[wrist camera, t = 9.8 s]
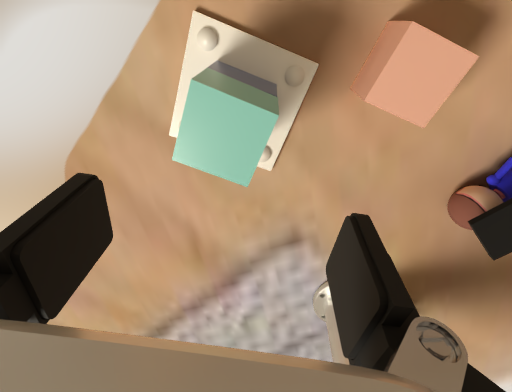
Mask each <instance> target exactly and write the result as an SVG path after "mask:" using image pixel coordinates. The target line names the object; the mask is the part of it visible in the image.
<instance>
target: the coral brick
mask: <svg viewBox="0 0 512 392" xmlns="http://www.w3.org/2000/svg"><path fill="white" fill-rule="evenodd" d="M478 58H479V56H478V55H476V54H474V53H472V52H470V51H468V50H466V49H464V48H462V47H461V46H459V45H457V44H455V43H453V42H451V41H449V40H447V39H446V38H444V37H442V36H440V35H438V34H436V33H434V32H432V31H431V30H429V29H427V28H425V27H423V26H421V25H419V24H417V23H416V22H414V21H388V22H387V24H386V26H385V28H384V29H383V31H382V33H381V35H380V36H379V38H378V40H377V42H376V44H375V45H374V47H373V49H372V51H371V52H370V54H369V56H368V58H367V59H366V61H365V63H364V65H363V66H362V68H361V70H360V72H359V73H358V75H357V77H356V79H355V81H354V82H353V84H352V86H351V88H350V89H351V90H352V91H353V92H354V93H356V94H357V95H358V96H359V97H360V98H361V99H362V100H363V101H365V102H367V103H369V104H372V105H374V106H376V107H378V108H380V109H382V110H385V111H387V112H389V113H391V114H393V115H396V116H398V117H400V118H402V119H404V120H406V121H409V122H411V123H413V124H415V125H417V126H420V127H422V128H424V127H425V126H426V125H427V123H428V122H429V121H430V119H431V118H432V117H433V116H434V114H435V113H436V112H437V110H438V109H439V108H440V107H441V105H442V104H443V103H444V101H445V100H446V99H447V98H448V96H449V95H450V94H451V92H452V91H453V90H454V89H455V87H456V86H457V85H458V83H459V82H460V81H461V80H462V78H463V77H464V76H465V74H466V73H467V72H468V71H469V69H470V68H471V67H472V65H473V64H474V63H475V62H476V60H477V59H478Z"/></svg>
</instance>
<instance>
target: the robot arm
mask: <svg viewBox="0 0 512 392" xmlns="http://www.w3.org/2000/svg"><path fill="white" fill-rule="evenodd" d="M112 238H113V231H112V226H111V221H110V216H109V211H108V206H107V202H106V197H105V192H104V187H103V183H102V181H101V180H99V179H98V177H97V176H96V175H91V174H84V173H77V174H76V175H74V176H73V177H72V178H70V179H69V180H68V181H66V182H65V183H64V184H63V185H61V186H60V187H59V188H57V189H56V190H55V191H53V192H52V193H51V194H50V195H48V196H47V197H46V198H44V199H43V200H42V201H40V202H39V203H38V204H37V205H35V206H34V207H33V208H31V209H30V210H29V211H27V212H26V213H25V214H24V215H22V216H21V217H20V218H18V219H17V220H16V221H14V222H13V223H12V224H11V225H9V226H8V227H7V228H5V229H4V230H3V231H1V232H0V392H505V391H504V390H503V389H501V388H500V387H499V386H498V385H496V384H495V383H494V382H492V381H491V380H490V379H488V378H487V377H486V376H484V375H483V374H482V373H480V372H479V371H478V370H476V369H475V368H474V367H472V366H471V365H470V364H468V354H467V351H466V348H465V346H464V344H463V343H462V341H461V340H460V338H459V337H458V336H457V335H456V334H455V333H454V332H453V331H452V330H451V329H450V328H448V327H447V326H446V325H444V324H443V323H441V322H439V321H437V320H435V319H432V318H429V317H420V316H419V314H418V312H417V310H416V308H415V306H414V304H413V302H412V300H411V298H410V296H409V294H408V292H407V290H406V288H405V286H404V284H403V282H402V280H401V278H400V276H399V274H398V272H397V270H396V268H395V265H394V263H393V261H392V259H391V257H390V256H389V254H388V253H387V251H386V249H385V247H384V245H383V243H382V241H381V239H380V237H379V235H378V233H377V231H376V229H375V227H374V225H373V223H372V221H371V219H370V217H369V216H368V215H364V214H357V213H352V214H351V216H347V217H346V218H345V220H344V222H343V225H342V227H341V230H340V232H339V235H338V237H337V240H336V242H335V245H334V247H333V250H332V252H331V254H330V257H329V259H328V262H327V265H326V275H327V280H328V281H327V282H325V283H324V284H323V285H322V286H320V287H319V289H318V290H317V291H316V293H315V294H314V297H313V306H314V311H315V313H316V314H317V316H318V317H319V318H320V319H322V320H323V321H325V322H326V325H327V330H328V336H329V342H330V348H331V353H332V359H333V362H327V361H321V360H314V359H308V358H301V357H294V356H286V355H279V354H271V353H264V352H257V351H249V350H242V349H235V348H227V347H220V346H212V345H205V344H197V343H189V342H182V341H174V340H167V339H159V338H151V337H143V336H136V335H128V334H120V333H112V332H104V331H96V330H88V329H80V328H72V327H64V326H56V325H48V324H47V322H48V321H49V320H50V319H53V318H55V317H56V316H57V315H58V313H59V312H60V311H61V309H62V308H63V307H64V305H65V304H66V303H67V301H68V300H69V298H70V297H71V296H72V294H73V293H74V292H75V290H76V289H77V288H78V286H79V285H80V284H81V282H82V281H83V280H84V278H85V277H86V276H87V274H88V273H89V271H90V270H91V269H92V267H93V266H94V265H95V263H96V262H97V261H98V259H99V258H100V257H101V255H102V254H103V253H104V251H105V250H106V248H107V247H108V246H109V244H110V243H111V241H112Z"/></svg>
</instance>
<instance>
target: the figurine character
mask: <svg viewBox="0 0 512 392" xmlns="http://www.w3.org/2000/svg"><path fill="white" fill-rule="evenodd" d="M486 181H487V183H488V185H489V187H490V189H489V188H486V187H483V186H467V187H464V188H461V189H459V190H458V191H456V192H455V193H454V194H453V195H452V196H451V197H450V199H449V202H448V212H449V215H450V217H451V218H452V220H453V221H454V222H455V223H456V224H458V225H459V226H461V227H463V228H466V229H469V230H473V231H474V233H475V234H476V236H477V237H478V239H479V240H480V242H481V244H482V245H483V247H484V248H485V250H486V251H487V253H488V255H489V256H490V257H491V258H492V259H493V260H496V259H498V258H500V257H503V256H505V255H507V254H509V253H511V252H512V157H510V158H509V159H508V160H507V161H506V162H505V163H504V164H503V165H502V167H501V168H500V169H499V170H498V171H497V172H496V173H495V174H494V175H490V176H488V177H487V178H486Z"/></svg>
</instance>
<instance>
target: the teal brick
mask: <svg viewBox="0 0 512 392" xmlns="http://www.w3.org/2000/svg"><path fill="white" fill-rule="evenodd" d="M278 117H279V106H278V97H276V96H273V95H271V94H269V93H266V92H264V91H262V90H259V89H257V88H255V87H252V86H250V85H248V84H245V83H243V82H241V81H238V80H236V79H233V78H231V77H229V76H226V75H224V74H222V73H219V72H217V71H215V70H212V69H210V68H208V67H207V68H206V69H205V70H203V71H202V72H200V73H199V74H198V75H196V76H195V77H193V78H192V79H191V81H190V86H189V90H188V94H187V98H186V103H185V107H184V111H183V115H182V119H181V124H180V128H179V132H178V136H177V140H176V145H175V149H174V153H173V157H172V160H174V161H177V162H179V163H182V164H185V165H188V166H190V167H193V168H196V169H199V170H202V171H204V172H207V173H210V174H213V175H215V176H218V177H221V178H224V179H226V180H229V181H232V182H235V183H237V184H240V185H243V186H246V187H248V185H249V183H250V180H251V178H252V176H253V174H254V171H255V169H256V167H257V164H258V162H259V160H260V158H261V155H262V153H263V151H264V149H265V146H266V144H267V142H268V140H269V137H270V135H271V133H272V130H273V128H274V126H275V124H276V121H277V119H278Z"/></svg>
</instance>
